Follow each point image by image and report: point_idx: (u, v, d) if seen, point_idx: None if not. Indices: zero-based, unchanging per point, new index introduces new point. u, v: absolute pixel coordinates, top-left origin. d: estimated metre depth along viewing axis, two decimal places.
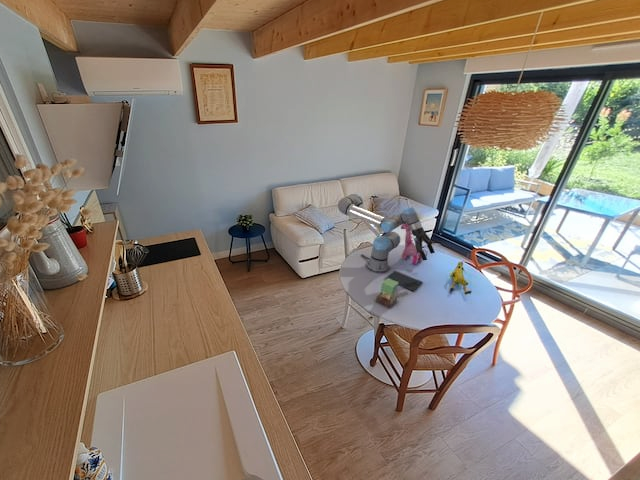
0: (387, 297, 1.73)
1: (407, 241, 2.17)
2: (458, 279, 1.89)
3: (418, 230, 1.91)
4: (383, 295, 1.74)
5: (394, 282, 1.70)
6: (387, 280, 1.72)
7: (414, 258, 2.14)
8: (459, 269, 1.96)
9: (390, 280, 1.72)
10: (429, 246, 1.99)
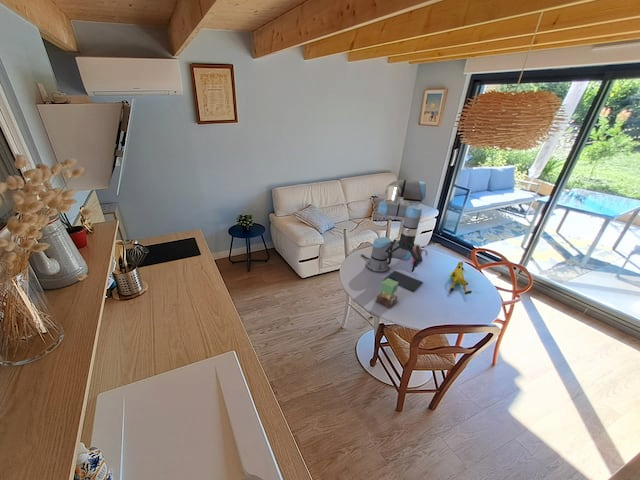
0: (387, 297, 1.73)
1: None
2: (458, 279, 1.89)
3: (401, 235, 1.57)
4: (383, 295, 1.74)
5: (394, 282, 1.70)
6: (387, 280, 1.72)
7: None
8: (459, 269, 1.96)
9: (390, 280, 1.72)
10: (414, 263, 1.60)
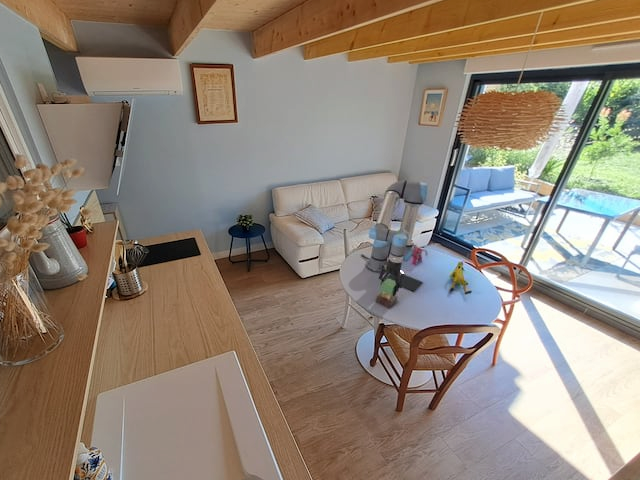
0: (387, 297, 1.73)
1: None
2: (458, 279, 1.89)
3: (388, 261, 1.64)
4: (383, 295, 1.74)
5: (394, 282, 1.70)
6: (387, 280, 1.72)
7: (414, 258, 2.14)
8: (459, 269, 1.96)
9: (390, 280, 1.72)
10: None
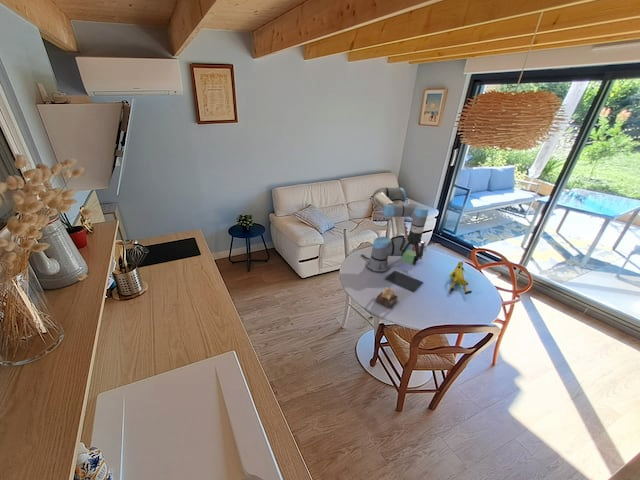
0: (387, 297, 1.73)
1: None
2: (458, 279, 1.89)
3: (409, 232, 1.79)
4: (383, 295, 1.74)
5: (414, 252, 1.85)
6: (407, 251, 1.87)
7: None
8: (459, 269, 1.96)
9: (410, 251, 1.87)
10: None
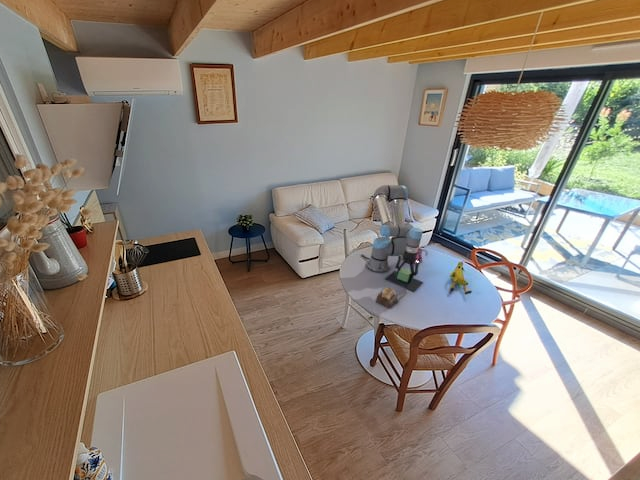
0: (387, 297, 1.73)
1: None
2: (458, 279, 1.89)
3: (404, 252, 1.86)
4: (383, 295, 1.74)
5: (409, 271, 1.92)
6: (403, 269, 1.94)
7: None
8: (459, 269, 1.96)
9: (405, 269, 1.94)
10: None
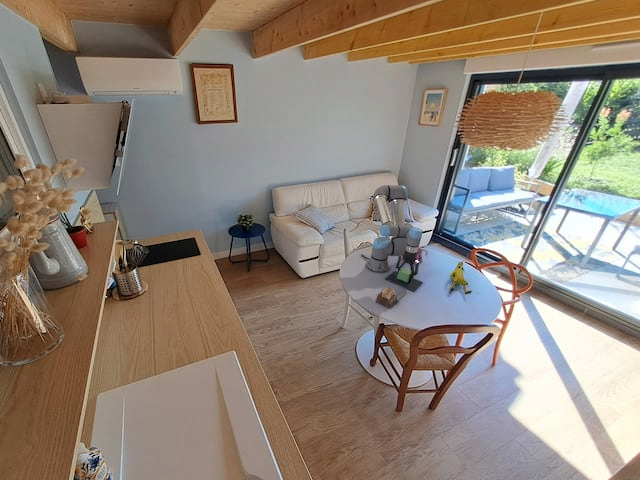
0: (387, 297, 1.73)
1: None
2: (458, 279, 1.89)
3: (404, 252, 1.86)
4: (383, 295, 1.74)
5: (409, 270, 1.92)
6: (403, 269, 1.94)
7: None
8: (459, 269, 1.96)
9: (406, 269, 1.94)
10: None
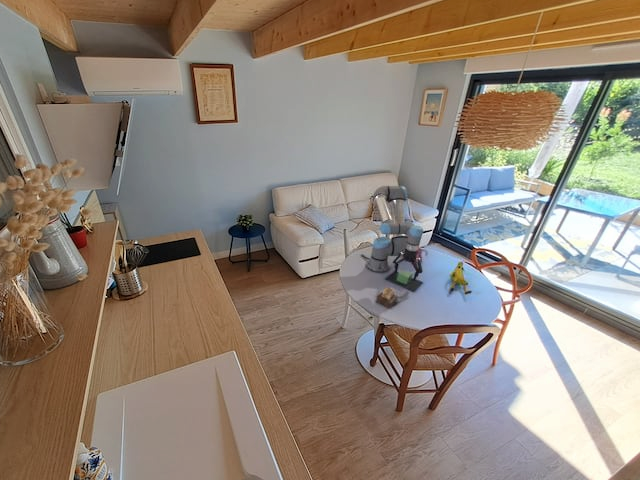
0: (387, 297, 1.73)
1: None
2: (458, 279, 1.89)
3: (405, 250, 1.85)
4: (383, 295, 1.74)
5: (409, 273, 1.93)
6: (402, 271, 1.95)
7: None
8: (459, 269, 1.96)
9: (405, 271, 1.95)
10: None
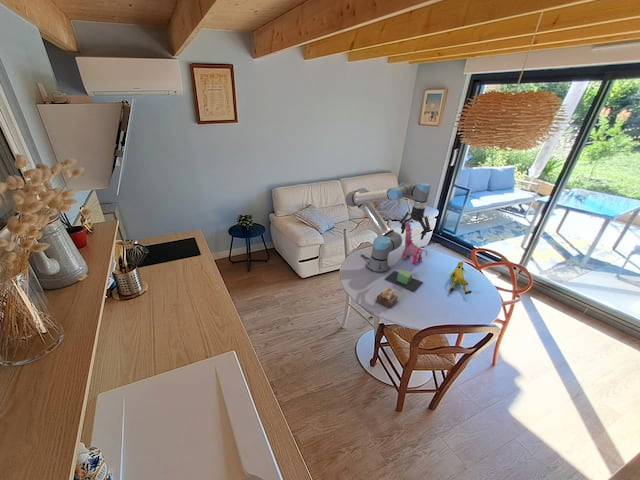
0: (387, 297, 1.73)
1: (407, 241, 2.17)
2: (458, 279, 1.89)
3: (412, 208, 1.88)
4: (383, 295, 1.74)
5: (409, 273, 1.93)
6: (402, 271, 1.95)
7: (414, 258, 2.14)
8: (459, 269, 1.96)
9: (405, 271, 1.95)
10: None
